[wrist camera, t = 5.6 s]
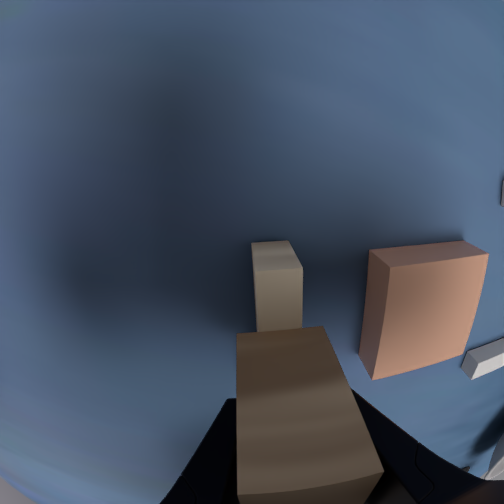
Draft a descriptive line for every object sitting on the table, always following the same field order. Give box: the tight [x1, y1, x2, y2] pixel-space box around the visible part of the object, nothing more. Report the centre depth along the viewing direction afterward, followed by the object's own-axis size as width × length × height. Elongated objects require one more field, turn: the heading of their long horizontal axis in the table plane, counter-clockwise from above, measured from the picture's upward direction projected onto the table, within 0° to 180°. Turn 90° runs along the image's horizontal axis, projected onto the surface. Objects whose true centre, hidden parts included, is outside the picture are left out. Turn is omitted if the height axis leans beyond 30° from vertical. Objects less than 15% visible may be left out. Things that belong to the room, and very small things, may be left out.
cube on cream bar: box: [236, 240, 384, 504], centre depth 9 cm, size 8×3×9 cm, turn 3°
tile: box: [358, 240, 489, 380], centre depth 13 cm, size 6×6×2 cm
